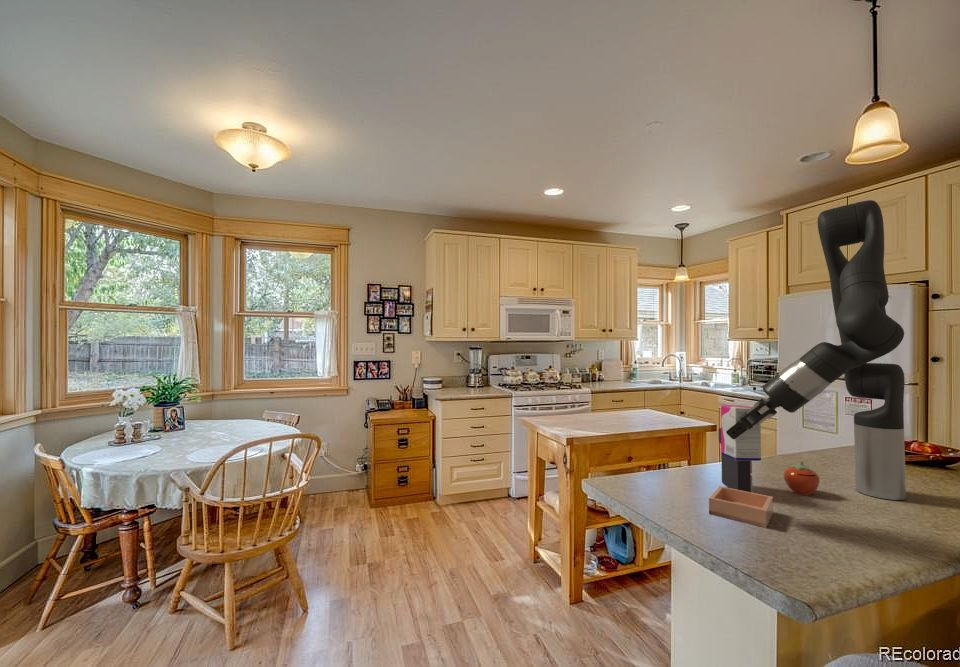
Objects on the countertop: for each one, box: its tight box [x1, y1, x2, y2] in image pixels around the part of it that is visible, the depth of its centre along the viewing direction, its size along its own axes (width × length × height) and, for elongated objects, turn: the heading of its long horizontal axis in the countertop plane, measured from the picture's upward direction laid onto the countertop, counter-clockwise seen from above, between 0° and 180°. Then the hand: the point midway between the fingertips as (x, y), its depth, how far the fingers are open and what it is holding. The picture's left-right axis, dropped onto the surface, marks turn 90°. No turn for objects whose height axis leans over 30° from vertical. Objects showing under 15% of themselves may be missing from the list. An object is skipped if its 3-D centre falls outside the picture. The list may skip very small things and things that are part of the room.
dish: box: [708, 485, 774, 529], centre depth 92 cm, size 11×11×4 cm
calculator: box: [718, 427, 753, 493], centre depth 108 cm, size 11×4×15 cm, turn 168°
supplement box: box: [720, 404, 762, 462], centre depth 93 cm, size 6×6×12 cm
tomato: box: [782, 460, 821, 496], centre depth 106 cm, size 7×7×8 cm
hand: (733, 432), depth 94 cm, fingers closed on supplement box, 8 cm apart
